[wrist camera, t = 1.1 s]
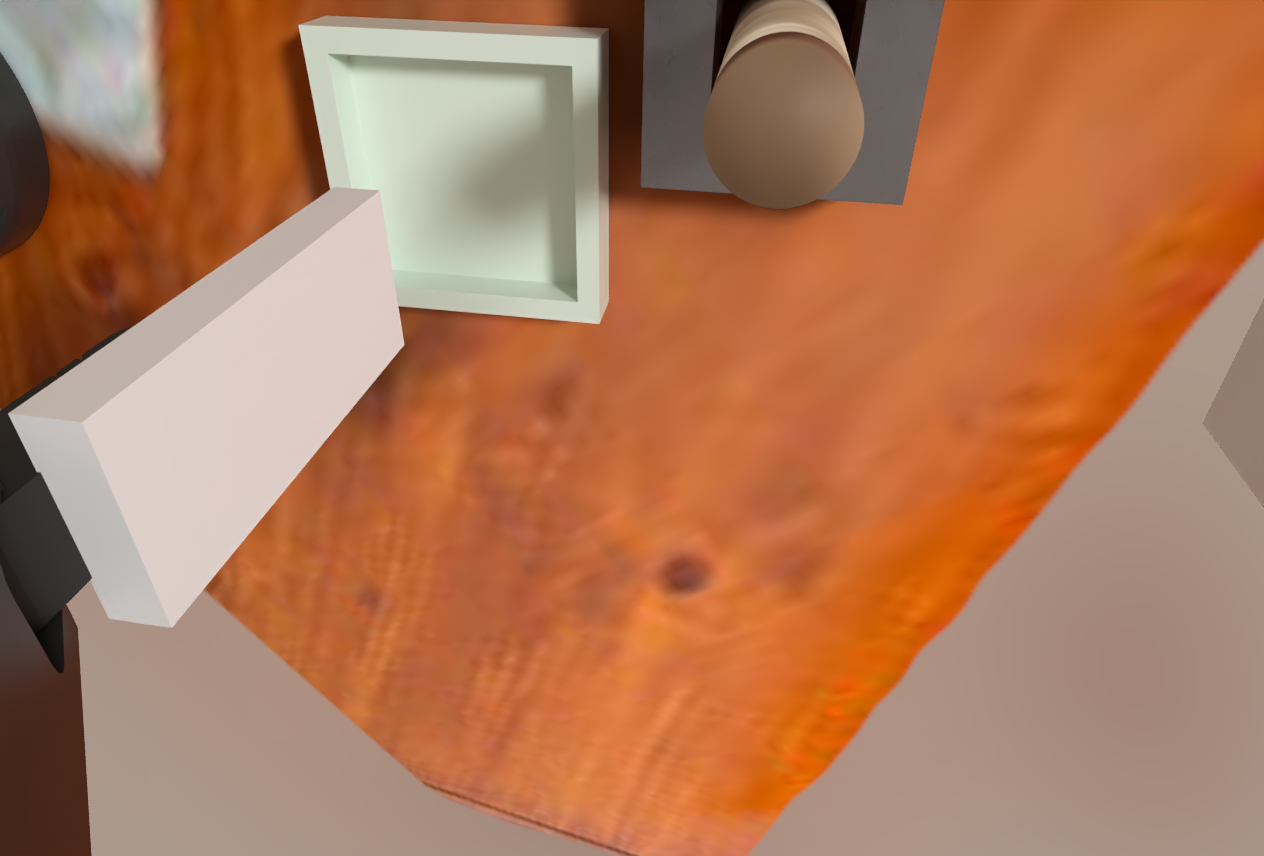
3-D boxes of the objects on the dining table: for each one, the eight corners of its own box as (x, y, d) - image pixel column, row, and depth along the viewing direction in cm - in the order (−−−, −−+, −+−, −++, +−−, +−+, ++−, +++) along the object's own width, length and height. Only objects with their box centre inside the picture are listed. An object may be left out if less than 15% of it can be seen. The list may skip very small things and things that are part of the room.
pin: (730, 87, 34) (698, 203, 22) (738, -24, 31) (708, 41, 20) (829, 93, 33) (849, 214, 22) (846, -20, 31) (877, 49, 19)
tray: (372, 281, 41) (351, 301, 39) (326, 15, 34) (298, 24, 33) (609, 301, 40) (599, 323, 38) (608, 28, 33) (597, 38, 31)
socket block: (654, 157, 36) (640, 187, 32) (663, -121, 30) (647, -119, 27) (892, 172, 34) (902, 205, 31) (948, -115, 29) (967, -112, 26)
